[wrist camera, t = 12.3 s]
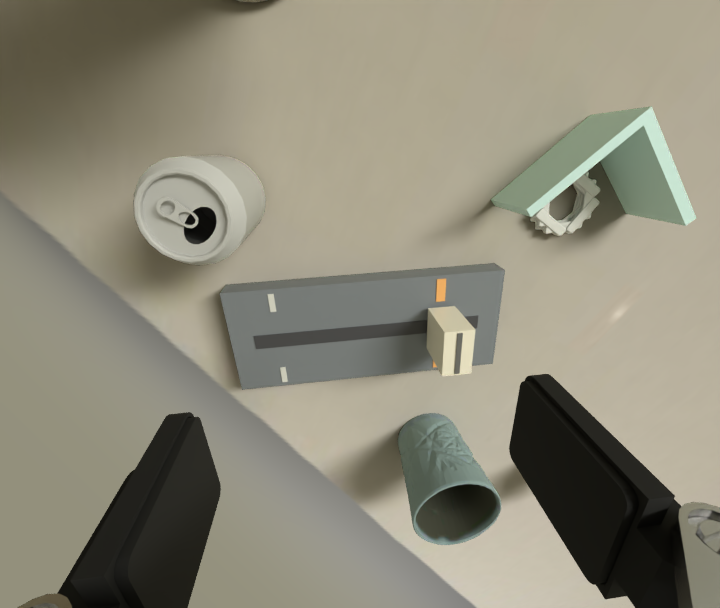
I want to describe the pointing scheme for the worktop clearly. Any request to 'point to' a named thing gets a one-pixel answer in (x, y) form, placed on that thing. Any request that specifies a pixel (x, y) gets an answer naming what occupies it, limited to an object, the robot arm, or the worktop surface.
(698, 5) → the worktop surface
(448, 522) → the teal embossed cup
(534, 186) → the right angle wall
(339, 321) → the fader console
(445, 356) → the fader tab
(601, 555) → the robot arm
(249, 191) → the can
